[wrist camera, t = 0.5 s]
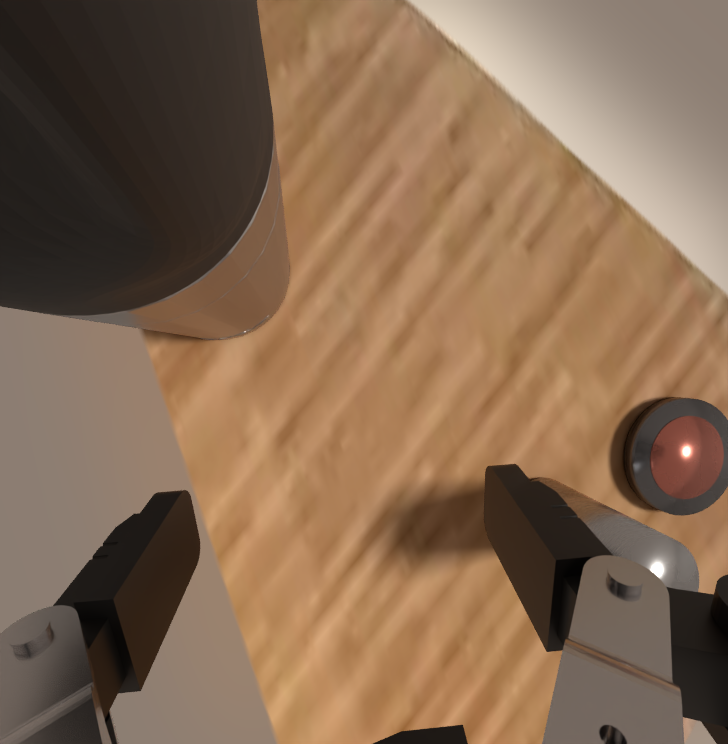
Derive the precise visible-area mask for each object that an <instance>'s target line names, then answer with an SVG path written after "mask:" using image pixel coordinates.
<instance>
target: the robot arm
mask: <svg viewBox="0 0 728 744" xmlns="http://www.w3.org/2000/svg"><path fill="white" fill-rule="evenodd" d="M289 273H290V265H289V255H288V244H287V235H286V226H285V216H284V207H283V198H282V189H281V180H280V171H279V164H278V158H277V149H276V140H275V131H274V122H273V113H272V106H271V99H270V92H269V85H268V78H267V71H266V65H265V58H264V52H263V46H262V39H261V32H260V24H259V16H258V8H257V0H0V306H2V307H8V308H14V309H21V310H27V311H33V312H39V313H44V314H51V315H57V316H63V317H70V318H76V319H82V320H89V321H95V322H103V323H109V324H116V325H122V326H128V327H135V328H141V329H147V330H154V331H160V332H166V333H172V334H179V335H185V336H191V337H198V338H200V339H207V340H222V339H232V338H236V337H241V336H244V335H246V334H248V333H250V332H253V331H255V330H257V329H258V328H259V327H261V326H262V325H263V324H265V323H266V322H267V321H269V319H270V318H271V317H272V316H273V315H274V314H275V313H276V311H277V310H278V309H279V307H280V305H281V303H282V301H283V299H284V298H285V295H286V291H287V288H288V284H289ZM484 523H485V528H486V532H487V536H488V538H489V540H490V542H491V544H492V546H493V548H494V550H495V552H496V554H497V556H498V558H499V560H500V562H501V564H502V566H503V568H504V570H505V571H506V573H507V575H508V577H509V579H510V581H511V583H512V585H513V587H514V589H515V591H516V593H517V595H518V597H519V599H520V601H521V603H522V605H523V606H524V608H525V610H526V612H527V614H528V616H529V618H530V620H531V622H532V624H533V626H534V628H535V630H536V632H537V634H538V636H539V638H540V640H541V641H542V643H543V645H544V647H545V649H546V651H547V652H551V651H561V650H563V651H562V656H561V661H560V665H559V670H558V674H557V679H556V683H555V688H554V692H553V697H552V701H551V706H550V711H549V715H548V720H547V724H546V729H545V733H544V738H543V742H542V744H684V732H683V717H685V718H690V719H694V720H698V721H701V722H702V723H703V725H704V726H705V728H706V729H707V730H708V732H709V733H710V735H711V736H712V737H713V739H714V740H715V742H716V743H717V744H728V575H725V576H723V577H721V578H719V580H718V581H717V584H716V589H715V593H714V595H712V594H706V593H700V592H693V591H687V590H681V589H674V588H669V587H666V586H665V585H664V583H663V582H662V581H661V579H660V578H659V577H658V576H657V575H655V574H654V573H653V572H652V571H650V570H649V569H647V568H646V567H644V566H642V565H640V564H638V563H636V562H634V561H631V560H629V559H626V558H622V557H618V556H613V555H612V553H611V552H610V551H609V550H608V549H607V548H606V547H605V546H604V544H603V543H602V542H601V541H600V540H599V539H598V538H597V537H596V536H595V534H594V533H593V532H592V531H591V530H590V529H589V528H588V527H587V525H586V524H585V523H584V522H583V521H582V520H581V519H580V518H578V517H577V514H576V513H575V512H574V511H573V510H572V509H571V507H568V504H567V503H566V502H565V501H564V500H563V498H562V497H561V496H560V495H559V494H558V493H557V492H556V491H555V490H553V489H551V488H550V487H548V486H546V485H545V484H543V483H541V482H540V481H530V480H529V479H528V477H527V476H526V475H525V474H524V473H523V471H522V470H521V469H520V468H519V466H518V465H516V464H508V465H496V466H488V467H487V468H486V472H485V496H484ZM199 555H200V539H199V533H198V529H197V524H196V519H195V514H194V510H193V505H192V500H191V496H190V494H189V492H188V491H186V490H183V491H171V492H158V493H156V494H154V495H153V497H152V498H151V499H150V501H149V502H148V503H147V505H146V506H145V507H144V509H143V510H142V511H141V513H140V514H133V515H132V516H131V517H129V518H128V519H127V520H125V521H124V522H123V523H121V524H120V525H119V526H117V527H116V528H115V529H114V530H113V532H112V533H111V534H110V535H109V536H108V538H107V539H106V540H105V541H104V543H103V546H101V547H100V548H99V549H98V550H97V551H96V553H95V554H94V555H93V559H92V560H89V562H88V563H87V564H86V565H85V567H84V568H83V569H82V570H81V572H80V573H79V574H78V575H77V577H76V578H75V579H74V580H73V582H72V583H71V584H70V585H69V587H68V588H67V589H66V590H65V592H64V593H63V594H62V595H61V597H60V598H59V599H58V601H57V602H56V603H55V604H54V605H53V606H52V607H47V608H44V609H41V610H38V611H36V612H33V613H31V614H29V615H27V616H25V617H23V618H21V619H20V620H18V621H17V622H15V623H13V624H12V625H11V626H9V627H8V628H7V629H5V630H4V631H3V632H2V633H0V744H119V742H118V738H117V734H116V730H115V726H114V722H113V718H112V715H111V712H110V708H111V706H112V704H113V702H114V700H115V698H116V696H117V694H118V693H125V692H135V691H141V689H142V687H143V685H144V682H145V680H146V678H147V676H148V673H149V671H150V669H151V666H152V664H153V662H154V660H155V658H156V655H157V653H158V651H159V649H160V646H161V644H162V642H163V640H164V638H165V635H166V633H167V631H168V628H169V626H170V624H171V622H172V620H173V617H174V615H175V613H176V611H177V608H178V606H179V604H180V602H181V599H182V597H183V595H184V593H185V591H186V588H187V586H188V584H189V582H190V579H191V577H192V575H193V572H194V570H195V568H196V566H197V563H198V560H199ZM373 744H468V743H467V739H466V736H465V732H464V728H463V725H457V726H448V727H439V728H429V729H420V730H411V731H401V732H399V733H397V734H394V735H392V736H390V737H387V738H385V739H383V740H380V741H378V742H376V743H373Z"/></svg>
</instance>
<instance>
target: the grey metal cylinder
mask: <svg viewBox="0 0 728 744" xmlns="http://www.w3.org/2000/svg"><path fill="white" fill-rule="evenodd" d="M531 481H540V482H541V483H543V484H545V485H546V486H548V487H550V488H551V489H553V490H555V491H556V492H557V493H558V494H559V495H560V496H561V497H562V498H563V500H564V501H565V502H566V503H567V504H568V507H571V509H572V510H573V511H574V512H575V513H576V514H577V517H578V518H580V519H581V520H582V521H583V522H584V523H585V524H586V525H587V527H588V528H589V529H590V530H591V531H592V532H593V533H594V534H595V536H596V537H597V538H598V539H599V540H600V541H601V542H602V543H603V544H604V546H605V547H606V548H607V549H608V550H609V551H610V552H611V553H612V555H613V556H618V557H622V558H626V559H629V560H631V561H634V562H636V563H638V564H640V565H642V566H644V567H646V568H647V569H649V570H650V571H652V572H653V573H654V574H655V575H657V576H658V577H659V578H660V579H661V581H662V582H663V583H664V585H665V586H666V587H669V588H674V589H681V590H687V591H693V592H698V588H699V572H698V568H697V564H696V562H695V559H694V557H693V555H692V554H691V553H690V551H689V550H688V549H687V548H686V547H685V546H684V545H683V544H681V543H680V542H678V541H676V540H674V539H672V538H670V537H668V536H666V535H664V534H662V533H660V532H658V531H656V530H654V529H652V528H650V527H648V526H646V525H644V524H642V523H640V522H638V521H636V520H634V519H632V518H630V517H628V516H626V515H624V514H622V513H620V512H618V511H616V510H614V509H612V508H610V507H608V506H606V505H604V504H602V503H600V502H598V501H596V500H594V499H592V498H590V497H588V496H586V495H584V494H582V493H580V492H578V491H576V490H574V489H572V488H570V487H568V486H566V485H564V484H562V483H560V482H558V481H555V480H553V479H549V478H538V479H534V480H531Z"/></svg>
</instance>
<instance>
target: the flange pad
mask: <svg viewBox="0 0 728 744" xmlns="http://www.w3.org/2000/svg"><path fill="white" fill-rule="evenodd" d="M624 465H625V471H626V475H627V478H628V481H629V483H630V485H631V487H632V489H633V490H634V492H635V493H636V494H637V495H638V497H639V498H640V499H641V500H643V501H644V502H645V503H647V504H648V505H650V506H652V507H654V508H657V509H659V510H661V511H664V512H666V513H669V514H673V515H690V514H694V513H697V512H700V511H702V510H704V509H706V508H708V507H709V506H710V505H712V504H713V503H714V502H715V501H716V500H718V499H719V497H720V496H721V495H722V494H723V493H724V491H725V490H726V488H727V487H728V420H727V419H726V417H725V416H724V415H723V414H722V412H721V411H719V410H718V409H717V408H716V407H714V406H713V405H711V404H709V403H707V402H705V401H702V400H698V399H690V398H681V397H674V398H668V399H664V400H661V401H659V402H657V403H655V404H653V405H652V406H650V407H649V408H647V409H646V410H645V411H644V412H643V413H642V414H641V415H640V416H639V417H638V419H637V420H636V421H635V423H634V424H633V426H632V428H631V430H630V432H629V435H628V437H627V441H626V445H625V451H624Z"/></svg>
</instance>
